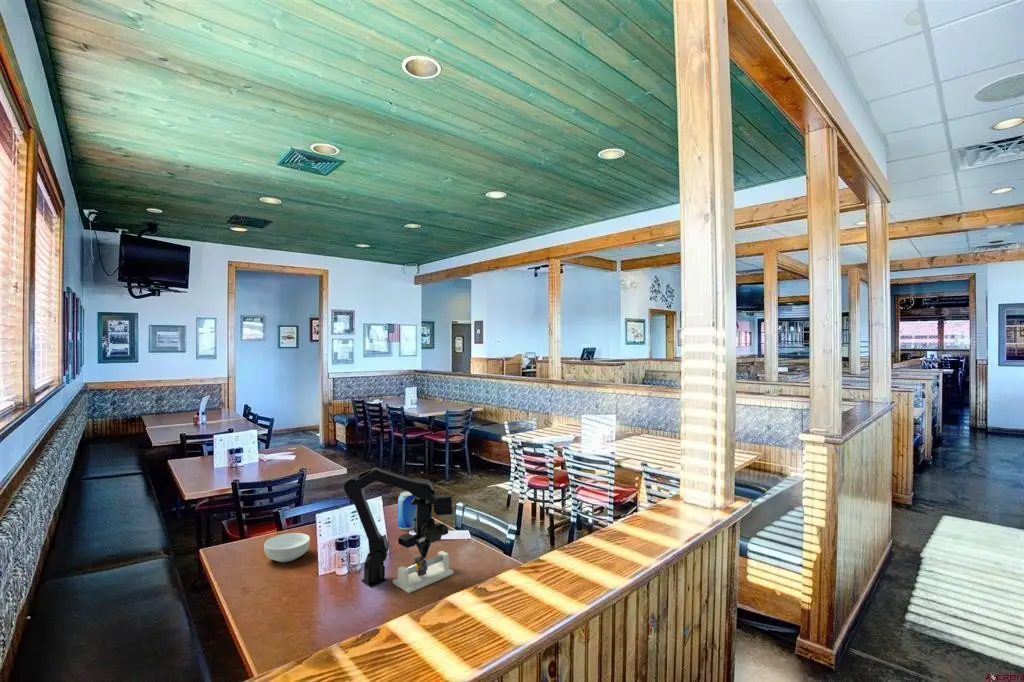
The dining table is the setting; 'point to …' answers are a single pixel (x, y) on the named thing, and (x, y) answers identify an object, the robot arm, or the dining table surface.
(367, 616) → the dining table surface
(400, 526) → the beer can
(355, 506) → the robot arm
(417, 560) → the black lobed collar
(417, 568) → the pipe
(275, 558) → the cereal bowl
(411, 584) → the base board
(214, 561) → the dining table surface
